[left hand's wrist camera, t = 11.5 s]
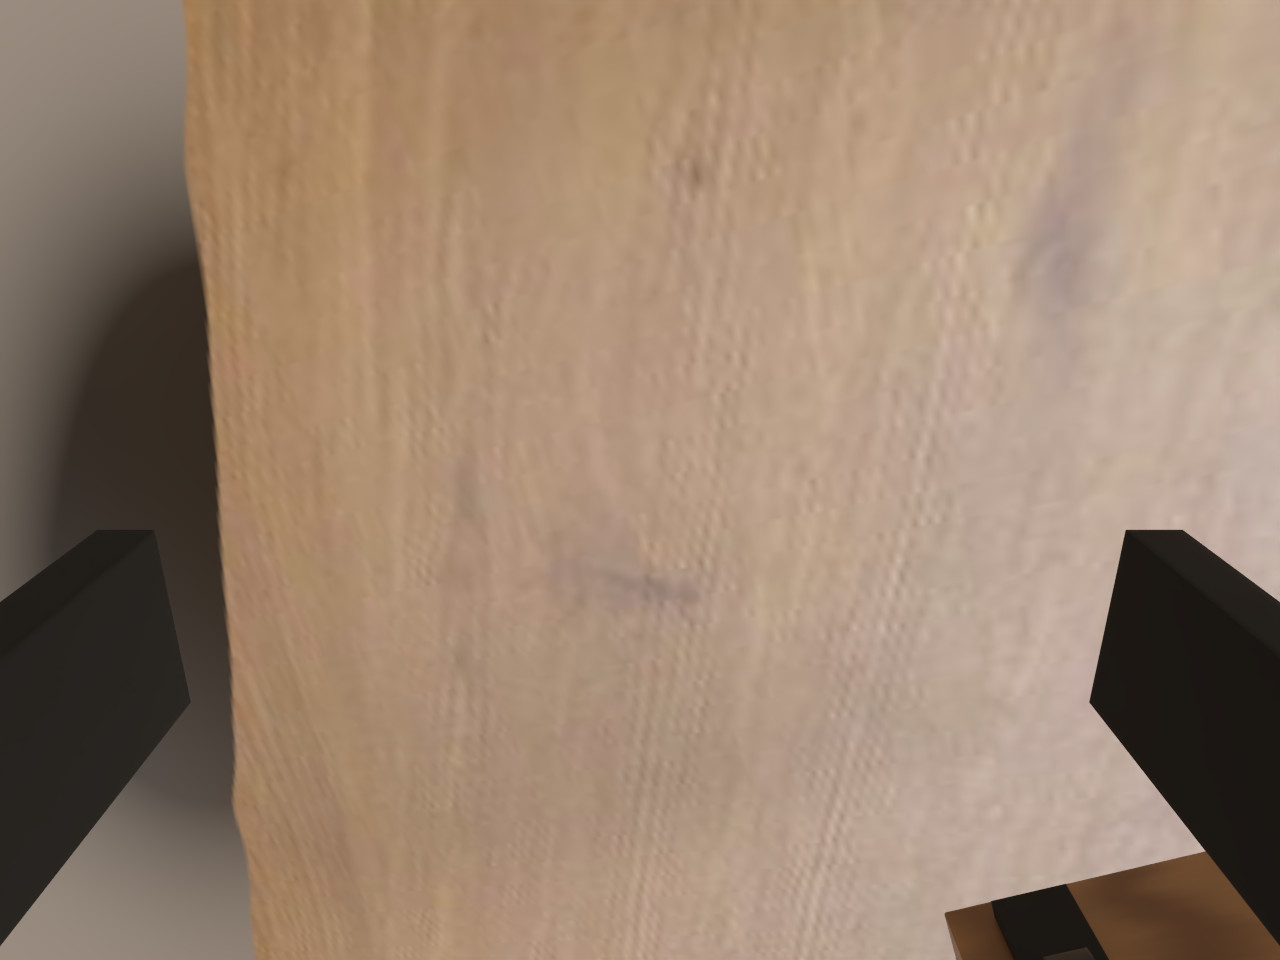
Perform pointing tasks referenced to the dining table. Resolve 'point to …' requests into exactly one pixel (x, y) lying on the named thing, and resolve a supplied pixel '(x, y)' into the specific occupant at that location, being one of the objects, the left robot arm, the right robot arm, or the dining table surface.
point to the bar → (1143, 917)
